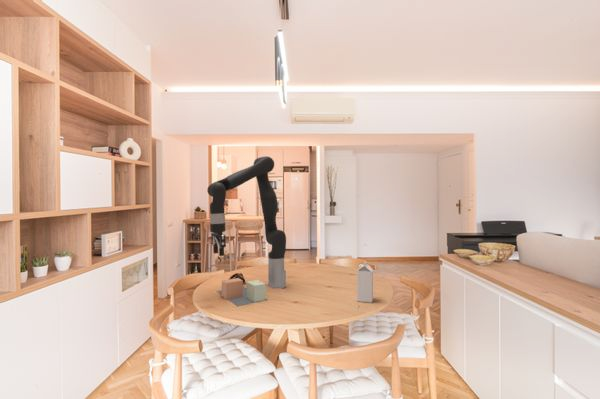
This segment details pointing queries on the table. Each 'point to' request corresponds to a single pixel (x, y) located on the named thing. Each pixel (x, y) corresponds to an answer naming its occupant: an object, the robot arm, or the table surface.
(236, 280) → the upright salmon pillar
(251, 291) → the pale green cuboid
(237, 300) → the slate mat
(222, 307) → the table surface
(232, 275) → the brown sculpted ring
